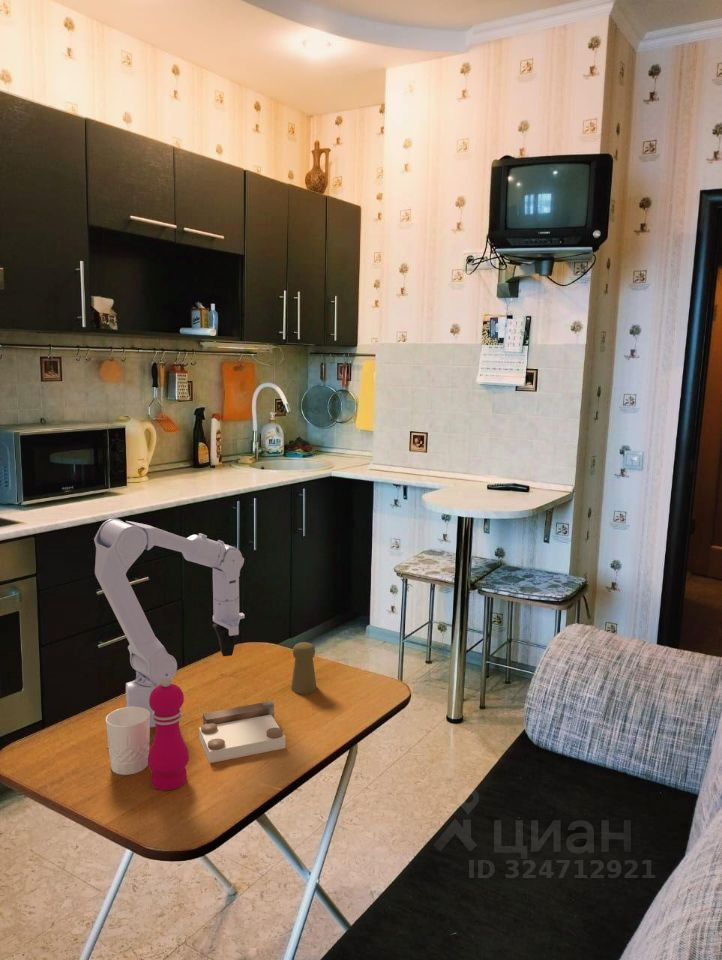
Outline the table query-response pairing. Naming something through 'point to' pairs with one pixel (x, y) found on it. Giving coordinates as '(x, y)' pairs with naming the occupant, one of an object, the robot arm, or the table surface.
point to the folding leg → (239, 713)
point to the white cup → (128, 739)
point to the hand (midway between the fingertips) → (227, 654)
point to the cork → (303, 669)
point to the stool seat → (241, 738)
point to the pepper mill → (167, 738)
